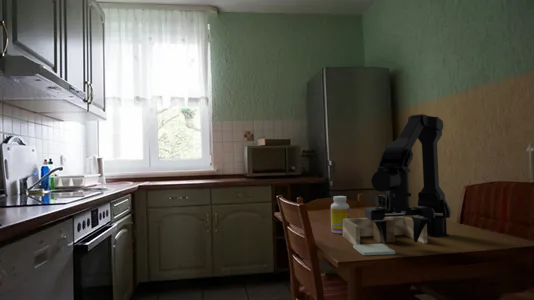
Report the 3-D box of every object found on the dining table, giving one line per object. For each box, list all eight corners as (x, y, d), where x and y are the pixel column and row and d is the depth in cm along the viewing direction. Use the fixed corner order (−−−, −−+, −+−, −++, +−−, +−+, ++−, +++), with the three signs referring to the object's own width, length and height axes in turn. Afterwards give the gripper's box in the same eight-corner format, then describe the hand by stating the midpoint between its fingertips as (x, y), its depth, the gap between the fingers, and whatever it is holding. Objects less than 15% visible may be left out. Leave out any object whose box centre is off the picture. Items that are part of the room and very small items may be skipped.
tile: (382, 246, 111) (382, 243, 111) (395, 254, 102) (395, 251, 102) (353, 247, 111) (353, 244, 111) (363, 255, 102) (363, 252, 102)
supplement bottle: (350, 234, 129) (349, 197, 130) (331, 234, 131) (330, 197, 131) (349, 230, 136) (349, 195, 136) (331, 230, 137) (330, 195, 138)
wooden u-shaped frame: (406, 233, 128) (405, 216, 128) (427, 243, 114) (426, 223, 114) (342, 236, 126) (342, 218, 127) (356, 246, 112) (355, 226, 112)
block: (388, 238, 122) (387, 217, 122) (394, 241, 117) (394, 219, 117) (373, 239, 121) (373, 217, 122) (379, 242, 116) (378, 220, 117)
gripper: (415, 185, 117) (417, 235, 116) (358, 187, 115) (359, 238, 115) (434, 188, 105) (436, 243, 105) (371, 190, 104) (372, 246, 104)
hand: (400, 242), depth 108 cm, fingers open, 9 cm apart
